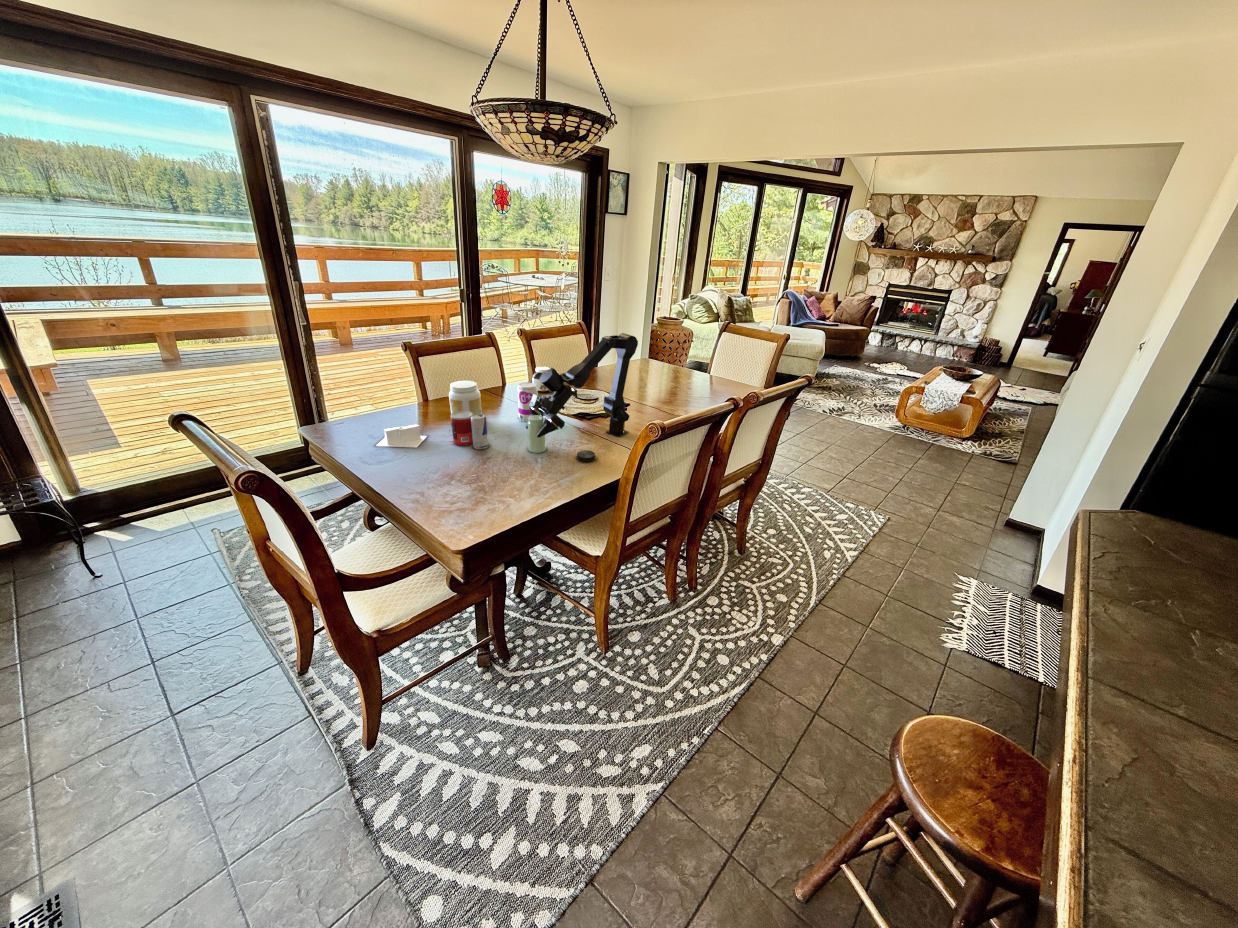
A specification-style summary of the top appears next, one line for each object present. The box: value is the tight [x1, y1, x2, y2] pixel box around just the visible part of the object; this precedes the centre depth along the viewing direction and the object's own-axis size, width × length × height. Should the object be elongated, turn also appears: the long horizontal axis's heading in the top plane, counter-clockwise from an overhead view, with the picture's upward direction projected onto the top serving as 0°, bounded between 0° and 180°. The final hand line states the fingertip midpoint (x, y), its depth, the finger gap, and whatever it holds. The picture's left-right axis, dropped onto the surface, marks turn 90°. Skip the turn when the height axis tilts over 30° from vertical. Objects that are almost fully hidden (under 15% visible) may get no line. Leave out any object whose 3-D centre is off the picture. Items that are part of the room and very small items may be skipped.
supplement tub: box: [448, 380, 483, 415], centre depth 194 cm, size 12×12×17 cm
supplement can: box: [516, 382, 539, 423], centre depth 203 cm, size 8×8×15 cm
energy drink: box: [471, 413, 489, 450], centre depth 175 cm, size 5×5×12 cm
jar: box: [527, 415, 547, 454], centre depth 175 cm, size 6×6×13 cm
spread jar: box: [531, 366, 551, 394], centre depth 242 cm, size 12×11×12 cm
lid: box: [576, 449, 596, 463], centre depth 172 cm, size 7×6×2 cm
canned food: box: [450, 411, 473, 447], centre depth 178 cm, size 8×8×11 cm
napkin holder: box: [375, 423, 428, 448], centre depth 178 cm, size 15×11×6 cm
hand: (532, 432), depth 173 cm, fingers open, 9 cm apart
